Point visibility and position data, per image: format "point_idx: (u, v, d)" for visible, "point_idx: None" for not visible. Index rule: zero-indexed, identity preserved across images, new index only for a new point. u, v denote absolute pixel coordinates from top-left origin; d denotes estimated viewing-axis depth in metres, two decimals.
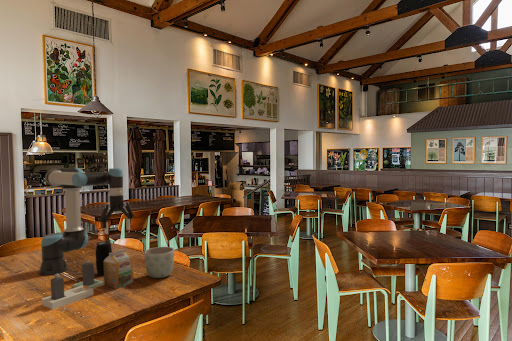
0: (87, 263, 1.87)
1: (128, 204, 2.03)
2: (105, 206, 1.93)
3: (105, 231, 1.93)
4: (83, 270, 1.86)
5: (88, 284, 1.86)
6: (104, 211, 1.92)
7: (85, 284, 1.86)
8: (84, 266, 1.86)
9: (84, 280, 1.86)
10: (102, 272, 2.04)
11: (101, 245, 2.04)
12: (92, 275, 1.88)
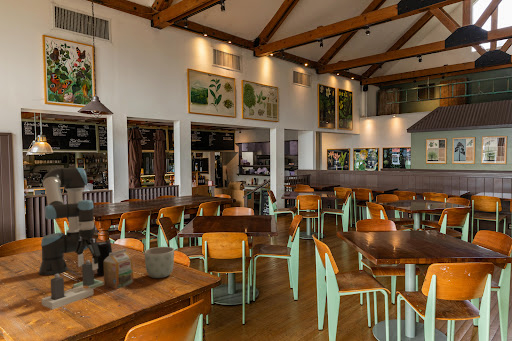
0: (87, 263, 1.87)
1: (92, 241, 1.82)
2: None
3: None
4: (83, 270, 1.86)
5: (88, 284, 1.86)
6: None
7: (85, 284, 1.86)
8: (84, 266, 1.86)
9: (84, 280, 1.86)
10: (102, 272, 2.04)
11: (101, 245, 2.04)
12: (92, 275, 1.88)
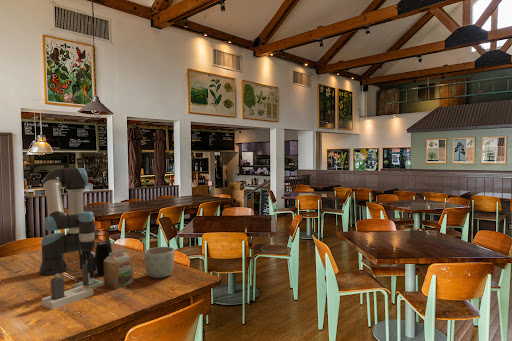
0: (87, 263, 1.87)
1: (91, 256, 1.83)
2: None
3: None
4: (83, 270, 1.87)
5: None
6: None
7: (85, 284, 1.86)
8: (84, 266, 1.86)
9: (84, 280, 1.86)
10: (102, 272, 2.04)
11: (101, 245, 2.04)
12: None
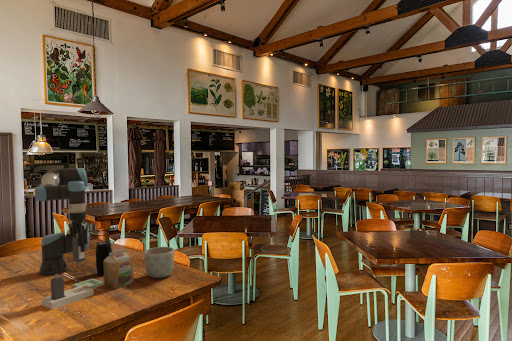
0: None
1: (82, 228, 1.70)
2: None
3: None
4: (73, 244, 1.74)
5: None
6: None
7: (75, 258, 1.73)
8: (74, 239, 1.73)
9: (74, 254, 1.73)
10: (102, 272, 2.04)
11: (101, 245, 2.04)
12: None
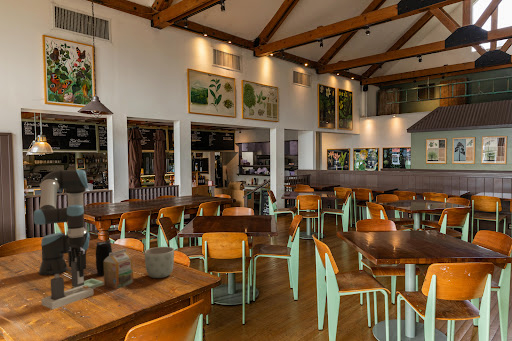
0: (76, 261, 1.72)
1: (81, 253, 1.69)
2: None
3: None
4: (72, 268, 1.72)
5: (77, 283, 1.71)
6: None
7: (74, 283, 1.71)
8: (73, 264, 1.71)
9: (73, 279, 1.72)
10: (102, 272, 2.04)
11: (101, 245, 2.04)
12: None
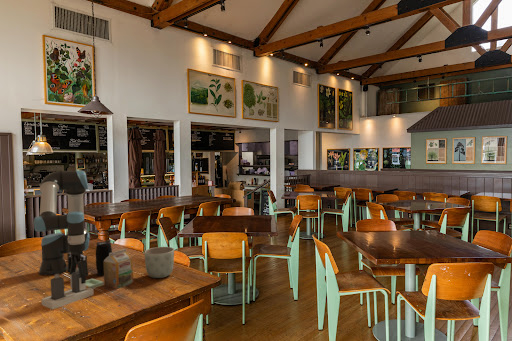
0: (77, 272, 1.72)
1: (82, 259, 1.68)
2: None
3: None
4: (73, 279, 1.72)
5: None
6: None
7: None
8: (74, 275, 1.71)
9: (73, 290, 1.72)
10: (102, 272, 2.04)
11: (101, 245, 2.04)
12: None
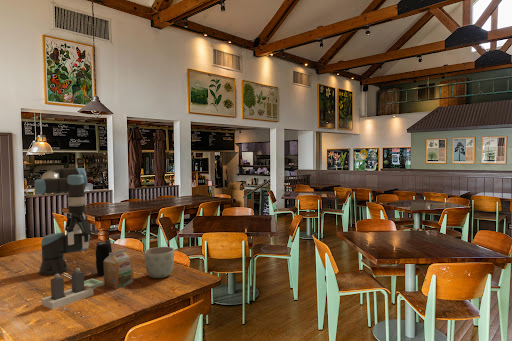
0: (77, 271, 1.72)
1: (82, 218, 1.71)
2: None
3: None
4: (72, 279, 1.72)
5: None
6: None
7: None
8: (73, 275, 1.71)
9: (73, 290, 1.72)
10: (102, 272, 2.04)
11: (101, 245, 2.04)
12: (82, 284, 1.73)
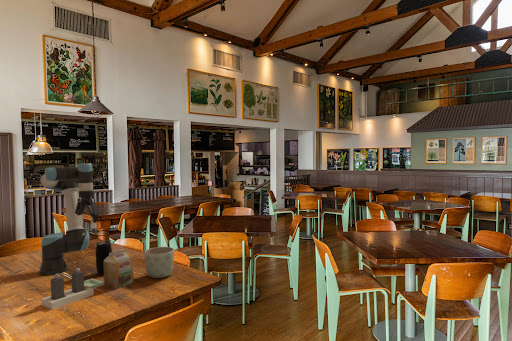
0: (77, 271, 1.72)
1: (91, 201, 1.92)
2: None
3: None
4: (72, 279, 1.72)
5: None
6: None
7: None
8: (73, 275, 1.71)
9: (73, 290, 1.72)
10: (102, 272, 2.04)
11: (101, 245, 2.04)
12: (82, 284, 1.73)
